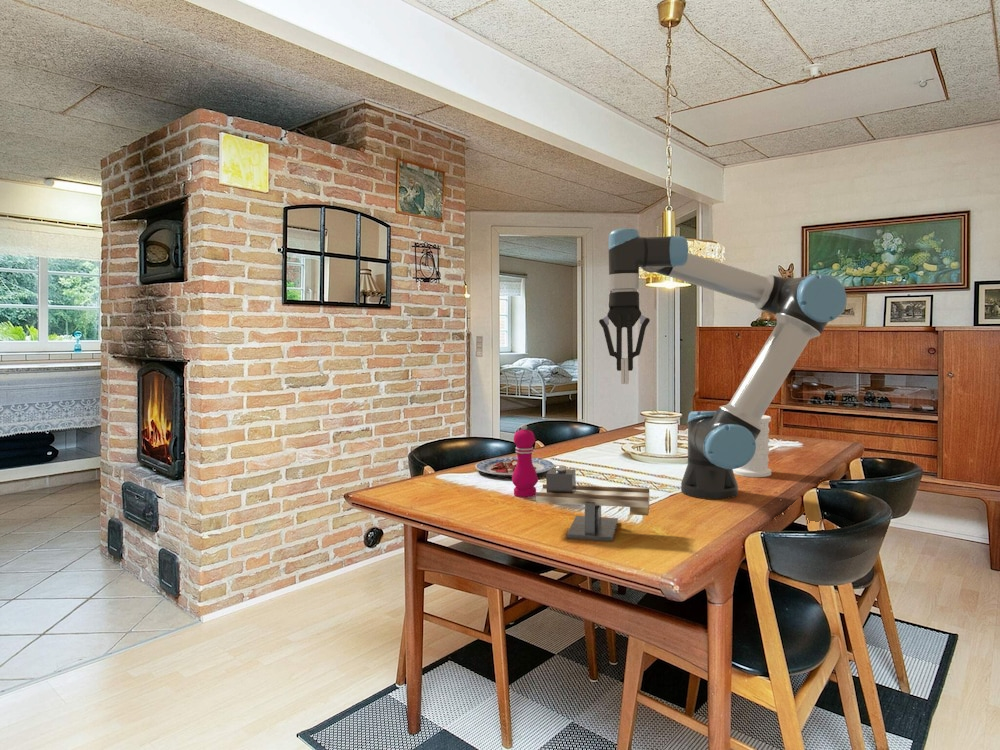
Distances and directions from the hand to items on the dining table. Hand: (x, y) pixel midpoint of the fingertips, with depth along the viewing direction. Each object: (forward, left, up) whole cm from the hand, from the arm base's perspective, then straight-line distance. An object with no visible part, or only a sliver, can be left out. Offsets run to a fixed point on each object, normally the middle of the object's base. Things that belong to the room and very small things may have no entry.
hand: (625, 383), depth 163 cm
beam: (+6, +22, -27) cm, 35 cm away
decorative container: (-36, -45, -32) cm, 66 cm away
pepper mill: (+28, -5, -32) cm, 43 cm away
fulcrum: (+6, +22, -32) cm, 39 cm away
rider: (+13, +22, -24) cm, 35 cm away
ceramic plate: (+38, -33, -33) cm, 60 cm away
